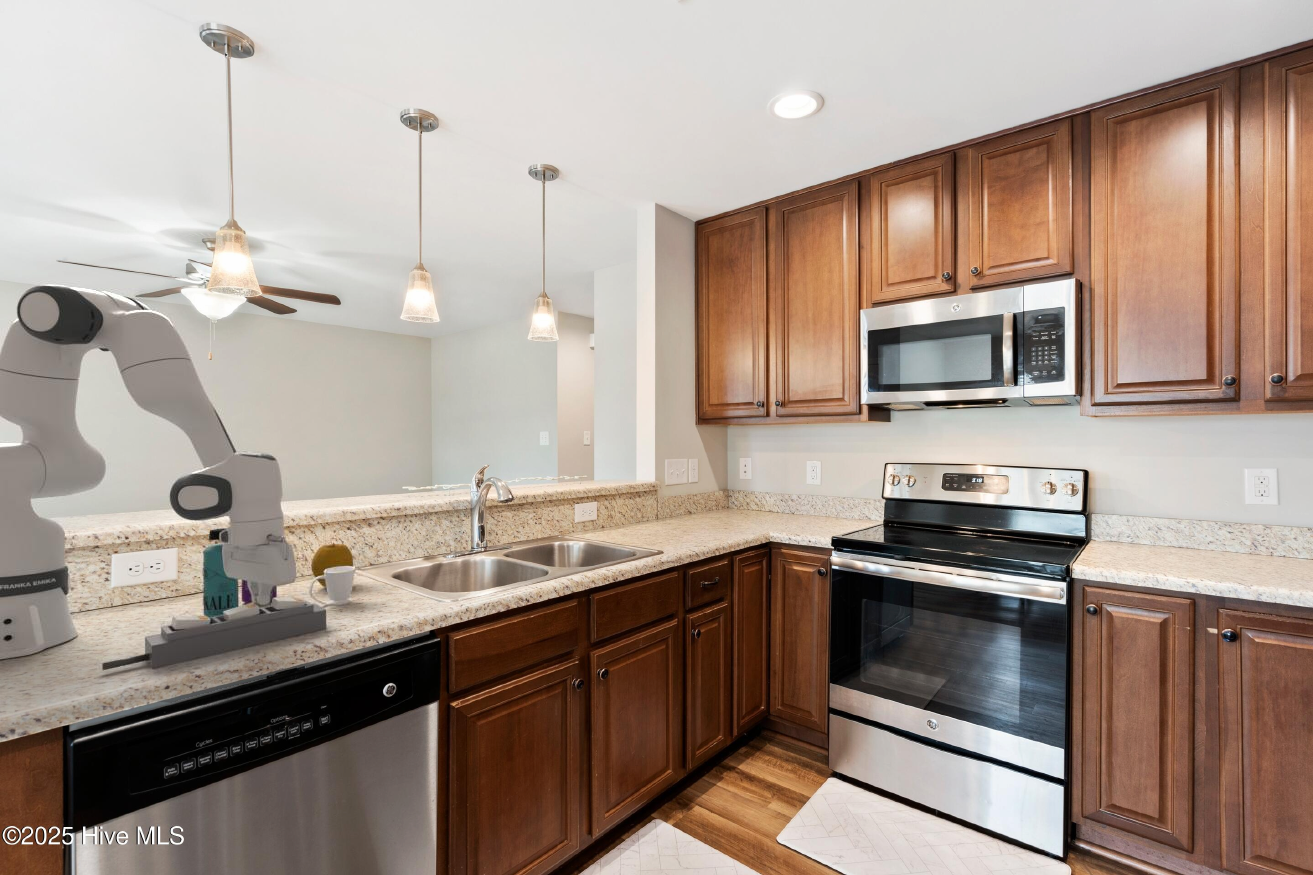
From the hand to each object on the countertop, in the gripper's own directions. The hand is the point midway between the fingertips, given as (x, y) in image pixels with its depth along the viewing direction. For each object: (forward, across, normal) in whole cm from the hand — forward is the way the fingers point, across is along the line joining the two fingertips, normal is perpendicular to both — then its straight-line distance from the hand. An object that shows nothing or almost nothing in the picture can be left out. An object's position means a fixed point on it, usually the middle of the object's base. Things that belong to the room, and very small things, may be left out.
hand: (261, 603), depth 119 cm
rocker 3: (+2, -1, -5) cm, 5 cm away
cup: (+7, +11, -21) cm, 25 cm away
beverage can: (+7, +29, -14) cm, 33 cm away
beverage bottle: (+7, +21, -2) cm, 22 cm away
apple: (+7, +27, -31) cm, 41 cm away
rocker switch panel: (+7, +2, +6) cm, 9 cm away
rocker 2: (+1, +1, +3) cm, 3 cm away
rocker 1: (+1, +3, +11) cm, 11 cm away
